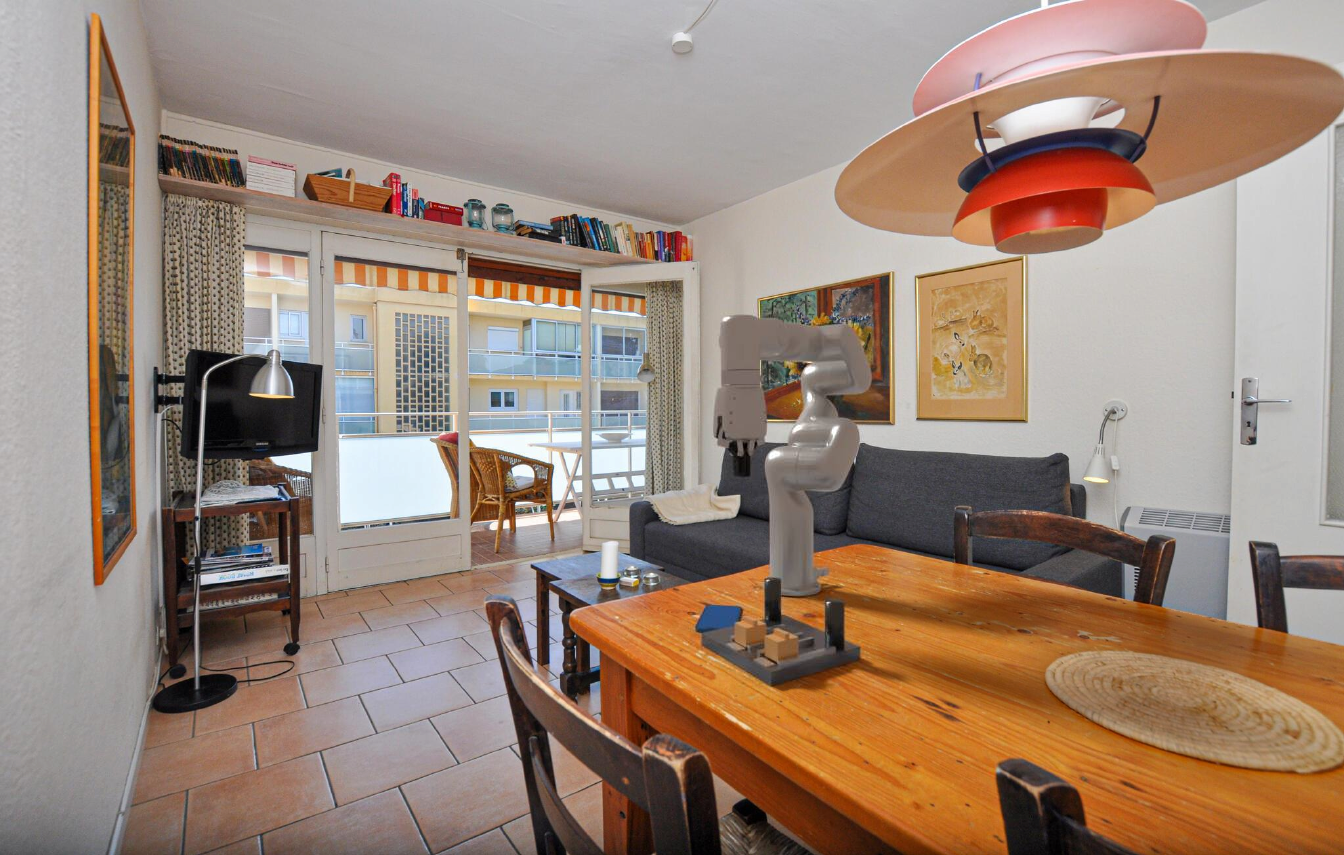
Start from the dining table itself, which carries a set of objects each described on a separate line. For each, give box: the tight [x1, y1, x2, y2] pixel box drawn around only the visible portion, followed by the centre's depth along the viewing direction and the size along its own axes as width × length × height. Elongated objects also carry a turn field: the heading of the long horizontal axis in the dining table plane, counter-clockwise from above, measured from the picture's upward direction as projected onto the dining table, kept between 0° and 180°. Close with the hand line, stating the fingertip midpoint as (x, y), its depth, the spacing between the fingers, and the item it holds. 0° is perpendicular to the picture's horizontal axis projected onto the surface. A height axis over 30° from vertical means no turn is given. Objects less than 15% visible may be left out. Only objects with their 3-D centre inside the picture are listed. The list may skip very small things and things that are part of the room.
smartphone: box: [694, 604, 743, 633], centre depth 113 cm, size 7×1×15 cm
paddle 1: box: [735, 615, 766, 647], centre depth 96 cm, size 4×3×4 cm
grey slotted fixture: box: [701, 576, 861, 687], centre depth 98 cm, size 18×19×9 cm
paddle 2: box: [765, 628, 798, 662], centre depth 90 cm, size 4×3×4 cm
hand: (741, 476), depth 115 cm, fingers closed
